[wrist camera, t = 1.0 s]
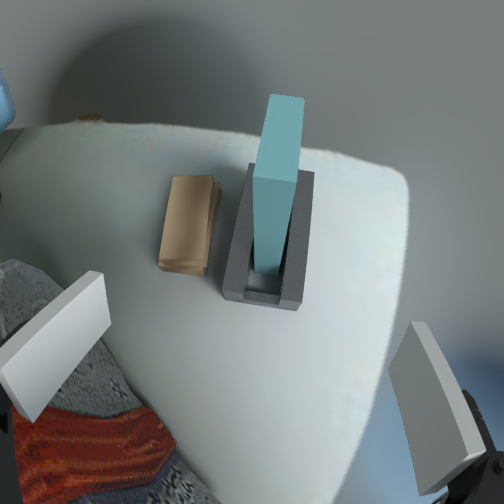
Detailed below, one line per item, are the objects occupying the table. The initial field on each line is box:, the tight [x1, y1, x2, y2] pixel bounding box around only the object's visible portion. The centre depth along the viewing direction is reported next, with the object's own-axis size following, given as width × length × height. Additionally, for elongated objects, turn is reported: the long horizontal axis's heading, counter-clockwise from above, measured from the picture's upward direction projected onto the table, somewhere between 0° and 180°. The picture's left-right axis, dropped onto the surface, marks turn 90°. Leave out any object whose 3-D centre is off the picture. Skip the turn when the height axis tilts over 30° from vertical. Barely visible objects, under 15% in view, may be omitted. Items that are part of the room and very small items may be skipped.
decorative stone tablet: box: [0, 259, 222, 504], centre depth 18 cm, size 19×6×30 cm
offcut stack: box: [158, 175, 221, 276], centre depth 33 cm, size 6×11×4 cm, turn 173°
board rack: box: [222, 163, 314, 311], centre depth 32 cm, size 8×15×4 cm, turn 170°
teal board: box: [253, 94, 305, 276], centre depth 26 cm, size 2×8×17 cm, turn 170°
